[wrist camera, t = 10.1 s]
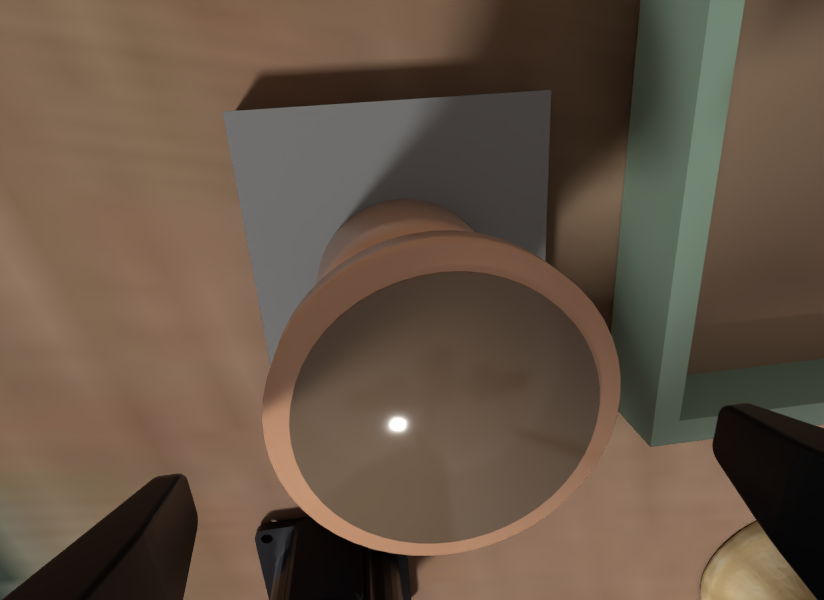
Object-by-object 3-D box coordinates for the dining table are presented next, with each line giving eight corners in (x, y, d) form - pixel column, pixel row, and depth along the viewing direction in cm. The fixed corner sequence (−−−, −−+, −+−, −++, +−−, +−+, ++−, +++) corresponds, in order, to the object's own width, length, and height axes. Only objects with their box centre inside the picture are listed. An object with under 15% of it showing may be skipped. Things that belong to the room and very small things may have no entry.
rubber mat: (527, 396, 21) (539, 416, 20) (290, 424, 20) (286, 447, 19) (534, 91, 17) (551, 89, 15) (233, 111, 16) (222, 111, 14)
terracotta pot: (503, 364, 18) (609, 536, 11) (317, 386, 18) (291, 583, 10) (503, 175, 16) (642, 226, 8) (287, 192, 15) (226, 266, 8)
